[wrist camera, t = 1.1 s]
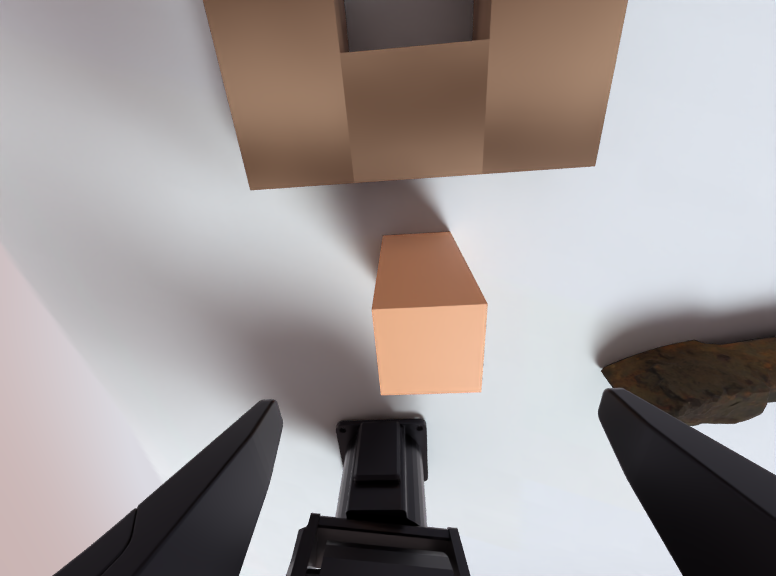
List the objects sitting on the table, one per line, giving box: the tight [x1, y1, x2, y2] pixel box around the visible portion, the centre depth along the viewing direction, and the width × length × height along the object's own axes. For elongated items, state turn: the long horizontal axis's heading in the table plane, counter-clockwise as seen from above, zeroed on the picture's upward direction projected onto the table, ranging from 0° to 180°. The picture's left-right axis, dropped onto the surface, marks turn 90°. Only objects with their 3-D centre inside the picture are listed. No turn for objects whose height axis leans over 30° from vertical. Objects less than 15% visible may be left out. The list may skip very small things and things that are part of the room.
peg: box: [372, 232, 488, 395], centre depth 14 cm, size 4×4×8 cm
